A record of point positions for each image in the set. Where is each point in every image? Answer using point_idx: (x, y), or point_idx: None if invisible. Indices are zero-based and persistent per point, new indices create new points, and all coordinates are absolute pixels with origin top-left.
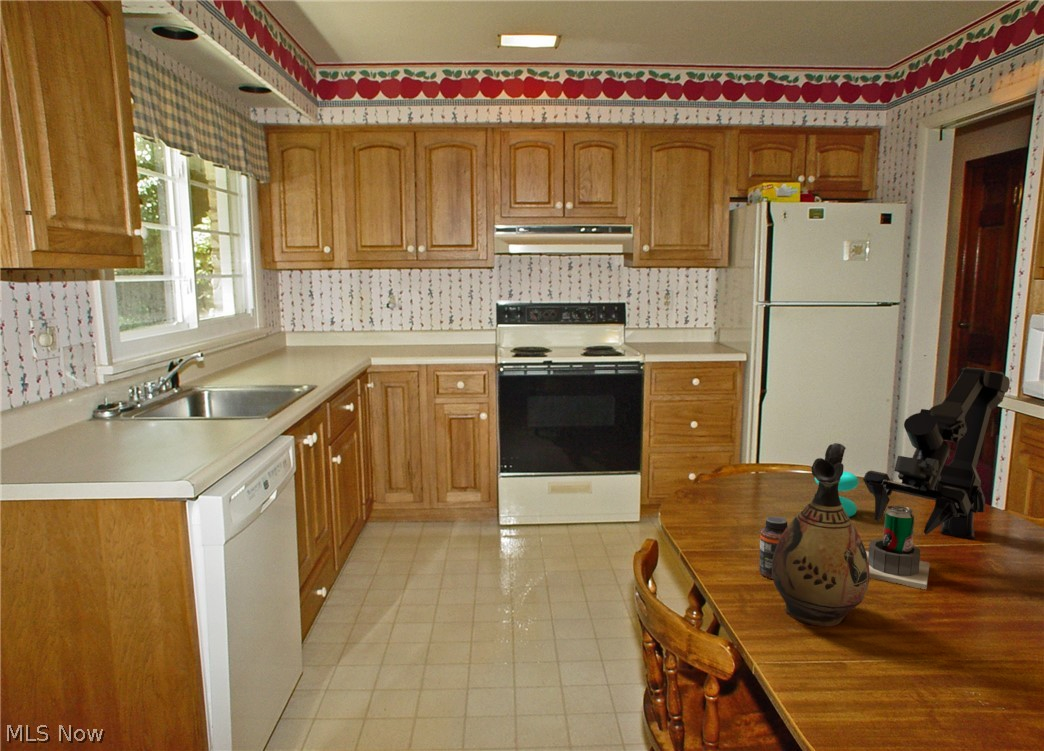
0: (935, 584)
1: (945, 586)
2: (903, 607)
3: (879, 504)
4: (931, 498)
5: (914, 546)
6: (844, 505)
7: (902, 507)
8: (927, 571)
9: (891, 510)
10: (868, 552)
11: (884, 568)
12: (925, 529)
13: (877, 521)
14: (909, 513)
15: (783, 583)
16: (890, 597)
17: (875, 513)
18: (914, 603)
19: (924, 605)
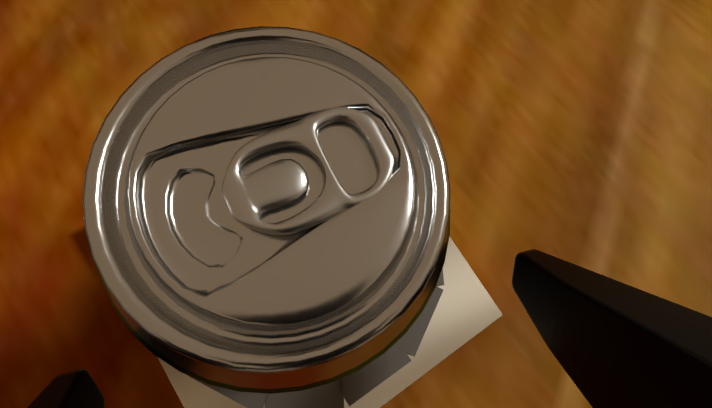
0: (104, 323)
1: (62, 348)
2: (63, 7)
3: (668, 330)
4: None
5: (248, 397)
6: None
7: (310, 290)
8: (172, 376)
9: (303, 34)
10: (471, 310)
11: None
12: (61, 389)
13: (513, 276)
14: (92, 163)
15: None
16: (143, 39)
17: (578, 268)
18: (56, 68)
19: (21, 85)
